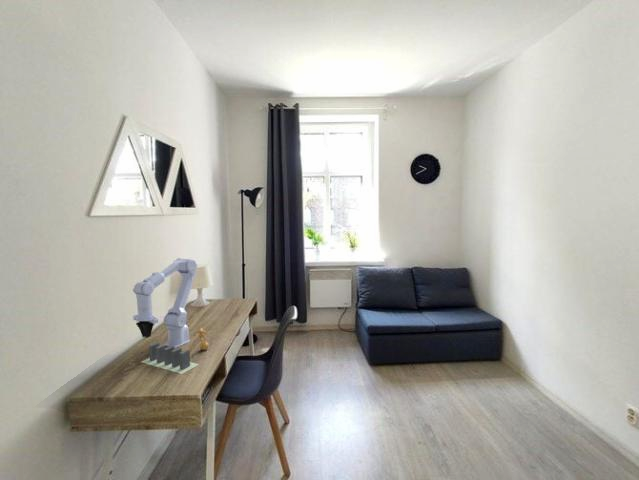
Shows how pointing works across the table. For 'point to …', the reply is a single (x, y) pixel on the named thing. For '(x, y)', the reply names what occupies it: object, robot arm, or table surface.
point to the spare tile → (160, 353)
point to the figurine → (204, 344)
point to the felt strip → (169, 366)
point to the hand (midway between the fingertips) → (146, 336)
